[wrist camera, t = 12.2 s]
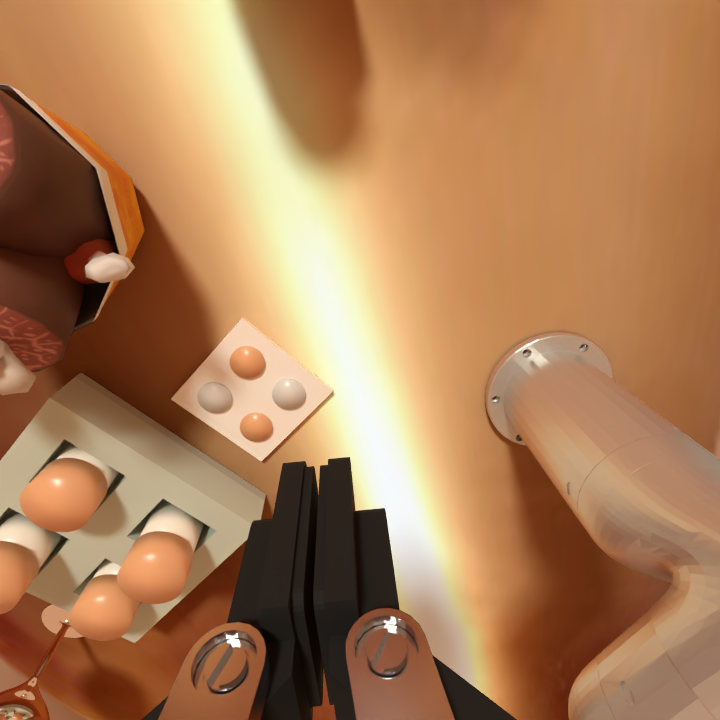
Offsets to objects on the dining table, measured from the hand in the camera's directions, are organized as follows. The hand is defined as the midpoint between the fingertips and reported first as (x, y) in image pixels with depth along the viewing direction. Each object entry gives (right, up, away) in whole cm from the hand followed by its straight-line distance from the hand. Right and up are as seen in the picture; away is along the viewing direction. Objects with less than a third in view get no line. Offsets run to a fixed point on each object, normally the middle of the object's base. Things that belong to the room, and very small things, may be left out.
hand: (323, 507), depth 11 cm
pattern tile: (-10, +1, +32) cm, 33 cm away
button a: (-18, -13, +34) cm, 40 cm away
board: (-25, -12, +37) cm, 46 cm away
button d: (-32, -13, +33) cm, 48 cm away
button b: (-25, -6, +32) cm, 41 cm away
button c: (-25, -19, +38) cm, 49 cm away
